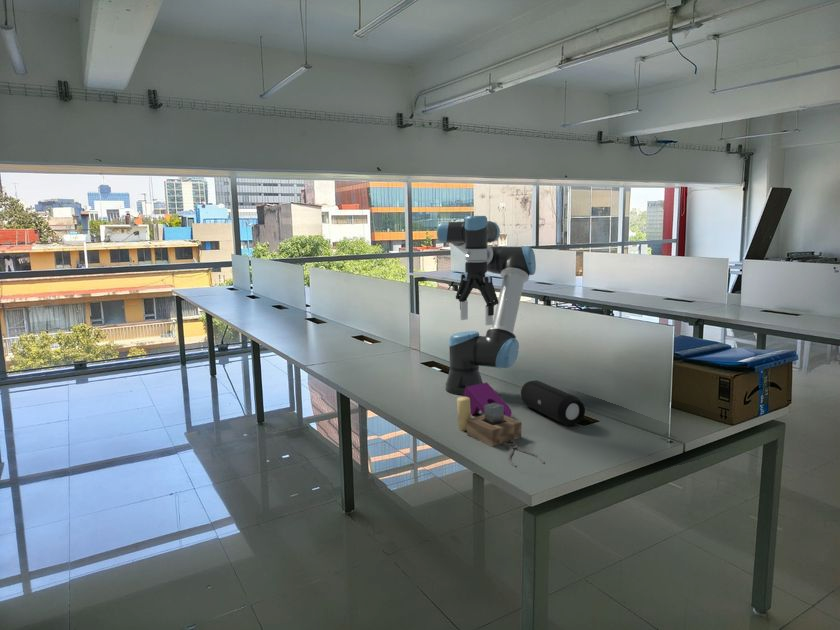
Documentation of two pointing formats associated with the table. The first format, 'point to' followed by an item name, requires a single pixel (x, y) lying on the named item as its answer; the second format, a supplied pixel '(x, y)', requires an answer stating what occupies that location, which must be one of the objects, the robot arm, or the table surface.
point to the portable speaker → (553, 402)
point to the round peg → (463, 412)
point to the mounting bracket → (484, 398)
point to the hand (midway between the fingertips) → (476, 322)
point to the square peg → (493, 413)
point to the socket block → (494, 430)
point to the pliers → (515, 446)
